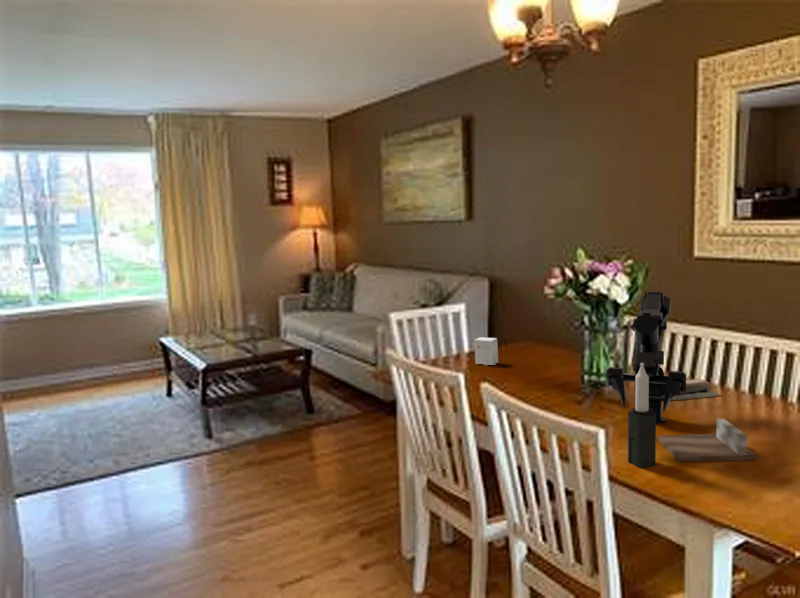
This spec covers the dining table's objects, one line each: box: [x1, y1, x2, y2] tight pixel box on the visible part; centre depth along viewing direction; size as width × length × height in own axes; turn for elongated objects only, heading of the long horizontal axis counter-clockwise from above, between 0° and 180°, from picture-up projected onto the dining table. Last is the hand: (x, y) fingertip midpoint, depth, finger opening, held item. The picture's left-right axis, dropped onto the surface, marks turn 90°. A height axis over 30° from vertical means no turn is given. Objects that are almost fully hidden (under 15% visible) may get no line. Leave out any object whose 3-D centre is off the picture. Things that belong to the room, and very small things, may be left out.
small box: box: [474, 336, 499, 366], centre depth 247 cm, size 8×6×10 cm
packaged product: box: [672, 378, 718, 401], centre depth 196 cm, size 18×5×10 cm
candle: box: [627, 363, 657, 469], centre depth 144 cm, size 5×5×25 cm
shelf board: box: [657, 417, 757, 463], centre depth 152 cm, size 14×18×6 cm
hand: (643, 408), depth 149 cm, fingers open, 9 cm apart
